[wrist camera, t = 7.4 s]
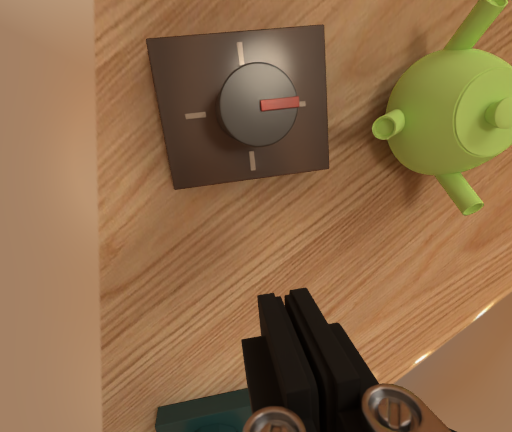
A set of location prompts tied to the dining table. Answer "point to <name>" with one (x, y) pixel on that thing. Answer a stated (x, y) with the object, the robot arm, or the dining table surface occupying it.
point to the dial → (257, 104)
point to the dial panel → (207, 90)
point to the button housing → (206, 414)
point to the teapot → (452, 109)
